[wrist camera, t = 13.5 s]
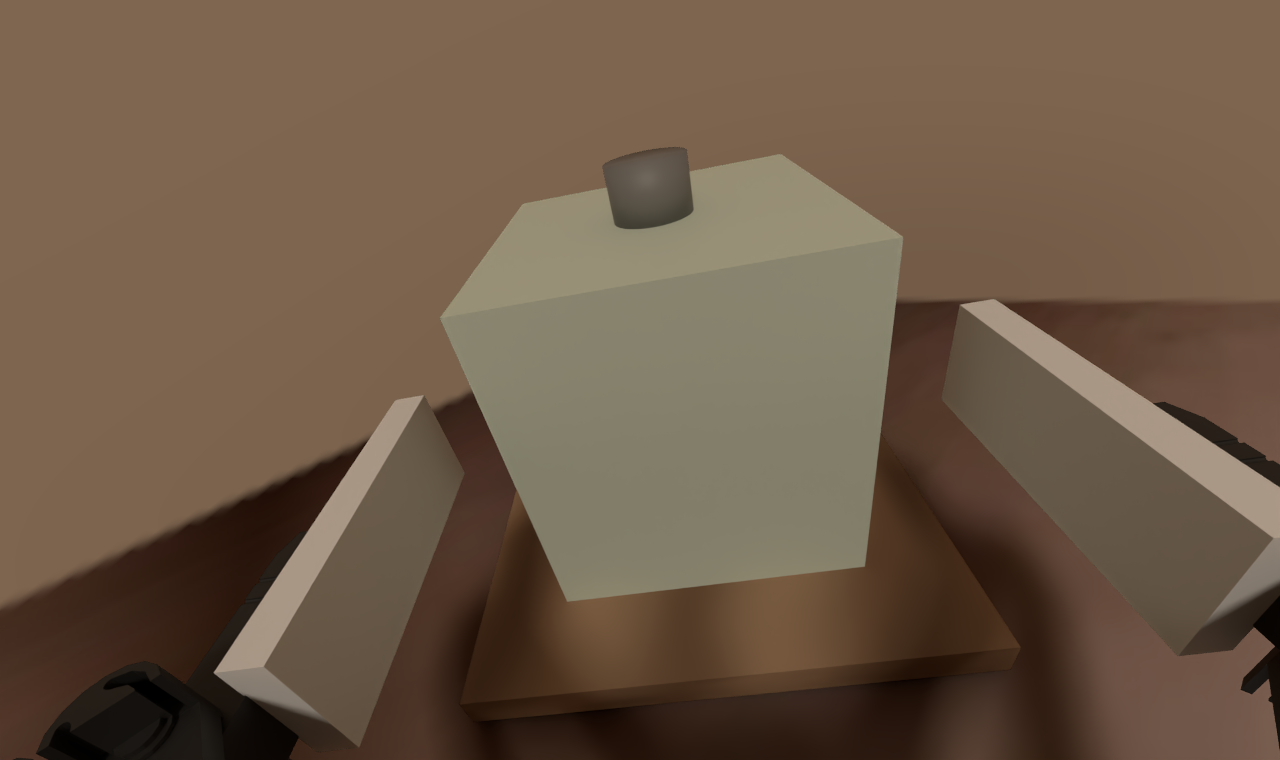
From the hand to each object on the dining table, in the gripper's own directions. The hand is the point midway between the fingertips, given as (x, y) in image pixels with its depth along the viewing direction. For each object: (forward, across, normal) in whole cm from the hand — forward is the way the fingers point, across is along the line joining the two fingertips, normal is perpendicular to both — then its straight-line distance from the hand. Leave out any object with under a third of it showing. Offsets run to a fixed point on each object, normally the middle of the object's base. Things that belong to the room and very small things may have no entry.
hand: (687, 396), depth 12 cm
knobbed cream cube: (+5, 0, -8) cm, 9 cm away
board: (+5, 0, -9) cm, 10 cm away
